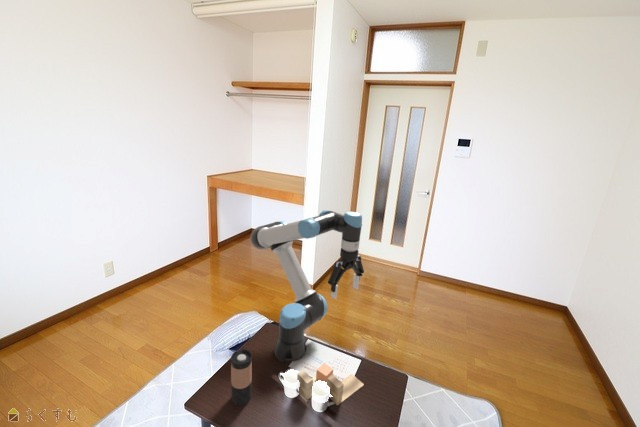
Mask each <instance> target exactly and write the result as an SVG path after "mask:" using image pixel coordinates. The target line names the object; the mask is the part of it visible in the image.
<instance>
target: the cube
mask: <svg viewBox="0 0 640 427" xmlns="http://www.w3.org/2000/svg"><path fill="white" fill-rule="evenodd" d="M332 375H334V368H333V367H331V366H330V365H328V364H326V363H325V362H324V363H323V364H321V365H320V366H319V367H318V368H317V369H316V375H315V376H316V379H317V380H321V381H325V382H327V379H328V378H329V377H330V376H332Z"/></svg>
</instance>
